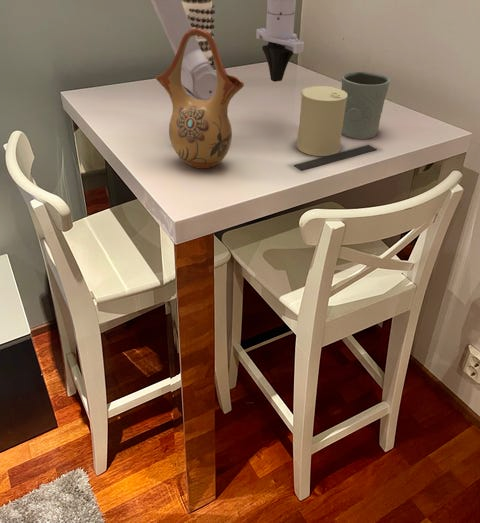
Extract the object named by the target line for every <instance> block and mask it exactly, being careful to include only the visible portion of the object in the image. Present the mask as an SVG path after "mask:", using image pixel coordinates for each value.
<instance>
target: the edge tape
mask: <svg viewBox="0 0 480 523" xmlns="http://www.w3.org/2000/svg"><path fill="white" fill-rule="evenodd" d="M377 150H378V148H376V147H374V146H371V145H370V144H367V145H363V146H360V147H356V148H352V149H348V150H344V151H341V152H340V151H339V152H338V153H336V154H333V155H329V156H321V157H318V158H314V159H311V160H307V161H304V162H300V163H296V164H293V167H295V168H296V169H298V170H299V171H306V170H309V169H312V168H317V167H320V166H325V165H327V164H331V163H335V162H338V161H342V160H345V159H349V158H353V157H357V156H360V155H363V154H367V153H371V152H374V151H377Z"/></svg>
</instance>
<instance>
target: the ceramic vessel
mask: <svg viewBox="0 0 480 523" xmlns="http://www.w3.org/2000/svg"><path fill="white" fill-rule="evenodd" d="M196 35H198V36H202V37H204V38H205V39H206V40H207V42H208V44H209V46H210V49H211V52H212V55H213V58H214V59H213V62H214V67H215V71H216V74H217V89H216V92H215V94H214V95H213V96H212V97H211V98H210V99H208V100H200V99H195V98H193V97H191V96H190V95H188V94H187V93H186V91H185V90H184V88H183V86H182V83H181V68H182V61H183V56H184V52H185V48H186V45H187V42H188V40H189V39H190V37H192V36H196ZM154 78H155V80H156V81H157V82H158V83H159V84H160V85H161V86H162V87H163V88H164V90H165V91H166V93H167V94H168V96H169V98H170V102H171V104H172V113H171V117H170V119H169V125H168V135H169V139H170V140H169V141H170V144H171V147H172V148H173V150H174V152H175V153H176V155H177V156H178V158H180V159H181V160H182V162H184V163H185V164H187V166H189V167H192V168H196V169H211V168H213V167H215V166H216V165H218V164H219V163H221V162H222V161H223V160H224V158H225V157H226V156H227V155H228V153H229V151H230V149H231V145H232V140H233V130H232V124H231V121H230V119H229V115H228V109H229V108H228V107H229V104H230V101H231V100H232V99H233V97H234V96H235V95H236V94H237V93H238V92H239V91H240V90H241V89H243V88H244V86H245V84H244V82H243V81H242V80H241V79H240V78H238V77H236V76H233V75H230V74H228V73H227V70H226V69H225V67H224V64H223V62H222V59H221V56H220V52H219V50H218V47H217V44H216V41H215V39H214V37H213V38H212V36H211V35H210V34H209V33H208V32H206V31H205V30H202V29H199V28H196V29H191V30H189V31H187V32H186V33H185V34H184V36H183V38H182V40H181V43H180V45H179V48H178V51H177V53H176V55H175V54H174V58H173V60H172V61H171V63H170V65H169V67H168V68H167V69H166V71H164V72H161V73H160V74H158V75H156V76H155V77H154Z"/></svg>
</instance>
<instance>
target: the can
mask: <svg viewBox="0 0 480 523" xmlns="http://www.w3.org/2000/svg"><path fill="white" fill-rule="evenodd" d="M341 89H342V88H337V87H333V86H327V85H325V86H324V85H314V86H308V87H305V88H303V89H302V91H301V100H300V112H299V113H300V114H299V125H298V133H297V143H296V148H297V150H298V151H299V152H301V153H303V154H306V155H309V156H313V157H325V156H329V155H333V154H337V153H340V151H341V141H342V135H343V134H342V127H343V120H344V113H345V107H346V100H347V96H348V95H347V93H346V92H345V91H343V90H341Z"/></svg>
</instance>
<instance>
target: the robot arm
mask: <svg viewBox="0 0 480 523" xmlns="http://www.w3.org/2000/svg"><path fill="white" fill-rule="evenodd" d="M150 2H151V4H152V6H153V8H154V11H155V14H156V15H157V18H158V20H159V22H160V24H161V27H162V29H163V31H164V33H165V35H166V38H167V40H168V42H169V44H170V45H169V46H170V47H171V49H172V51H173V53H174V56H175V55H176V53H177V51H178V48H179V45H180V43H181V40H182V38H183V36H184V34H185V33H186V32H187V31H189V30H191V29H192V27H191V25H190V22H189V20H188V17H187V15H186V12H185V10H184V7H183V5H182V0H150ZM266 3H267V5H266V20H265V21H266V22H265V27H261V28H257V29H256V32H255V33H256V35H255V36H256V37H255V38H256V39H257V40H263V41H265V42H268V43H267V44H266V45H263V46H262V47H261V48H262V51H263V53H264V55H265V58H266V61H267V66H268V71H269V77H270V81H272V82H275V83H277V82H282V81H283V78H284V76H285V73H286V69H287V66H288V64H289V62H290V61H291V58H292V57H293V55H294V54H295V55H296V54H303V53H304V51H305V50H304V48H305V42H303V41H302V40H300V39H299V38H298V34H296V33H294V31H295V18H296V7H297V6H296V5H297V0H267V2H266ZM212 67H213V66H212ZM212 67H211V65H210V63H209V61H208V59H207V58H206V56H205V55H204V53H203V52H202V50H201V49H200V47H199V44H198V42H197V39H196V37H195V36H192V37H190V39H189V40H188V42H187V45H186V48H185V52H184V56H183V61H182V68H181V83H182V86H183V88H184V90H185V91H186V93H187V94H188V95H190V96H191V97H193V98H195V99H200V100H208V99H210V98H211V97H212V96H213V95H214V94H215V92H216V89H217V74H216V70H215V69H214V70H213V69H212Z"/></svg>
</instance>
